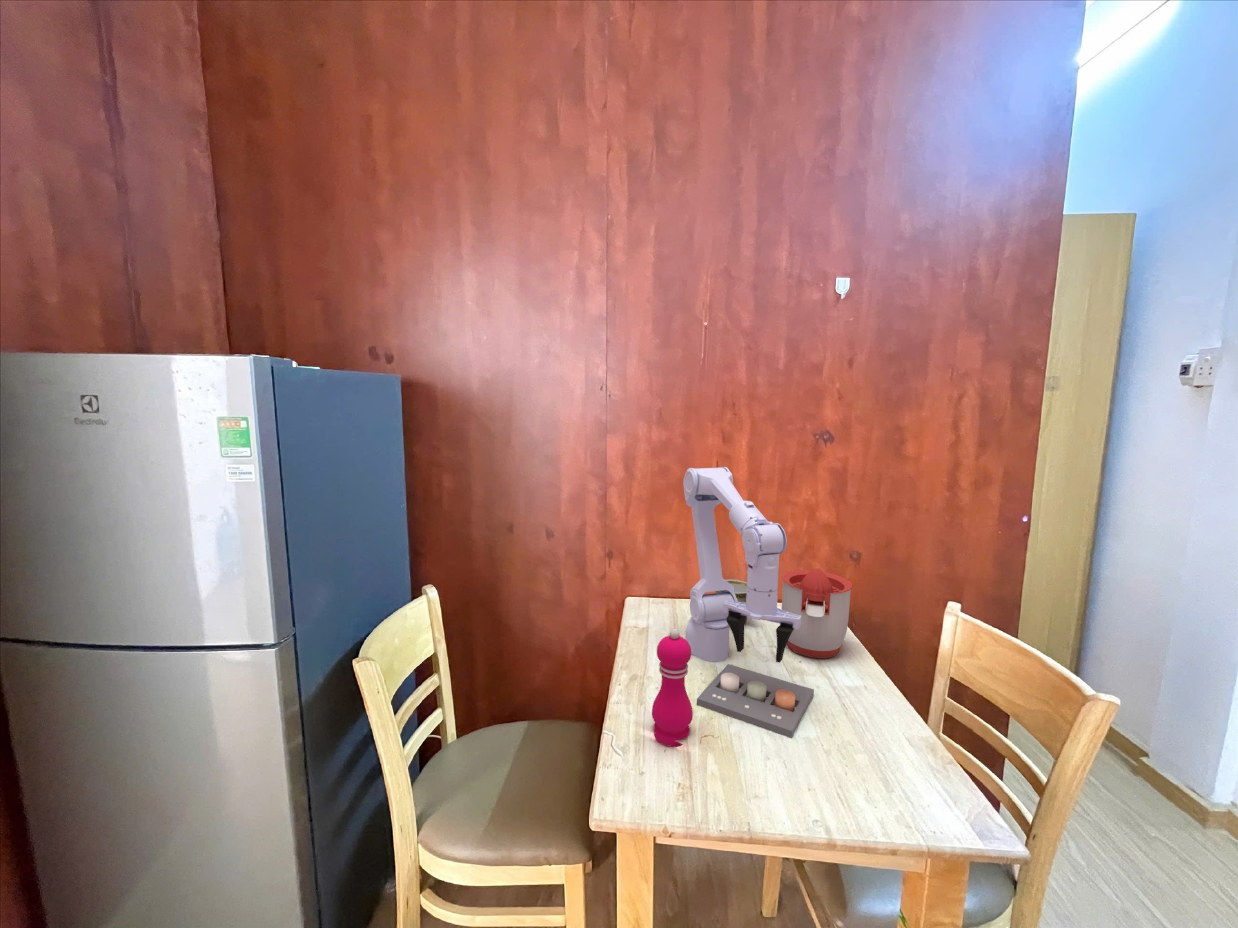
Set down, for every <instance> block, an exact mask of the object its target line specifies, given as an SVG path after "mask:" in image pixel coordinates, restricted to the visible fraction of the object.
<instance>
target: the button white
mask: <svg viewBox="0 0 1238 928" xmlns="http://www.w3.org/2000/svg"><path fill="white" fill-rule="evenodd" d="M720 689H723V690H726V691H729V692H732V693H735V694H737V692H738V691H739V690H740V689H739V677H738V676H737V675H736V674H733V673H723V674H722V675H721V687H720Z"/></svg>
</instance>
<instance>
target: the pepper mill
mask: <svg viewBox="0 0 1238 928" xmlns="http://www.w3.org/2000/svg"><path fill="white" fill-rule="evenodd" d="M656 656H657V659H658V661H659V665H658V666H659V668H658V672H659V673H660V674H661V685H660V688H659V690H658V692H657V695H656V697H655V699H654V700H653V703H652V707H651V717H652V719H653V722H654V726H653V731H654V733H653V737H654V738H655V740H656V741H657V742H658V743H659V744H660V745H664V746H666V747H672V748H673V747H681V746H683V745H684V743H681V742H680V741H682V740H684V739H686V738H687V737H688V736H689V735H690V724H691V722H692V721H693V717H694V713H693V712H694V711H693V706H692V703H691V700H690V697H689V695H688V693H687V690H686V685H685V682H686V681H685V679H686V676H687V675H688V673H689V671H688V669H689V664H688V663H689V662H690V661H691V658H692V655H691V647H690V645H689V643H688V641H687V640H686V639H685V637H682V636H681V635H680V630H678V629H677V628H672V629H670V631H669V635H667V636H664V637H663V638H662V639H660V641H659V642H658V645H657V647H656ZM678 741H679V742H678Z"/></svg>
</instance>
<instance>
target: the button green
mask: <svg viewBox="0 0 1238 928" xmlns="http://www.w3.org/2000/svg"><path fill="white" fill-rule="evenodd" d="M766 688H767V687H766V685H765V684H764V683H762V682H759V681H750V682H748V684H747V695H746V697H748V698H751V699H754V700H757V701H760V702H763V703H764V702H765V701H766V699H767V697H766Z"/></svg>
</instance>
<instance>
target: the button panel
mask: <svg viewBox="0 0 1238 928" xmlns="http://www.w3.org/2000/svg"><path fill="white" fill-rule="evenodd" d="M723 673H733V674H736V675H737V676H738V677H739V691H738V692H737V694H735V693H732V692H729V691H726V690H723V689H720V687H721V675H722V674H723ZM750 681H759V682H762V683H764V684H765V685H766V687H767V688H766V701H765V702H764V703H763V702H760V701H757V700H754V699H751V698H748V697H747V684H748V682H750ZM780 689H785V690H789V691H791V692H793V693H794V694H795V710H794V712H791V711H788V710H785V709H782V708H778V707H775V693H776V691H777V690H780ZM814 697H815V689H814V688H811V687H807V686H804V685H800V684H797V683H795V682H794V683H793V682H791V681H788V680H787V681H786V680H784V679H781V678H776V677H774V676H771V675H766V674H763V673H761V672H757V671H754V670H750V669H746V668H743V667H740V666H737V665H733V664H730V663H727V664H726V665H725V667H723V669H722V670H721V671H720V672H719V673H718V674H717V675H716V676H715V678H714V679H713V680H712V681H711V682H710V683H709V684H708V685H707V686H706V688H705V689H704V690H703V691H702V692H701V693H700V694H699V695H698V697H697V698H696V706H699V707H701V708H704V709H707V710H710V711H713V712H715V713H719V714H721V715H723V716H726V717H730V718H733V719H734V720H735V719H736V720H738V721H742V722H744V723H747V724H750V725H753V726H755V727H758V728H761V729H764V730H767V731H770V732H773V733H775V734H778V735H781V736H784V737H787V738H789V739H793V737H794V734H795V732H796V731H797V729H798V727H799V726H800V723H801V721H802V719H803V717H804V715H805V713H806V711H807V709H808V708H809V705H810V704H811V702H812V700H813V698H814Z"/></svg>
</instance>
